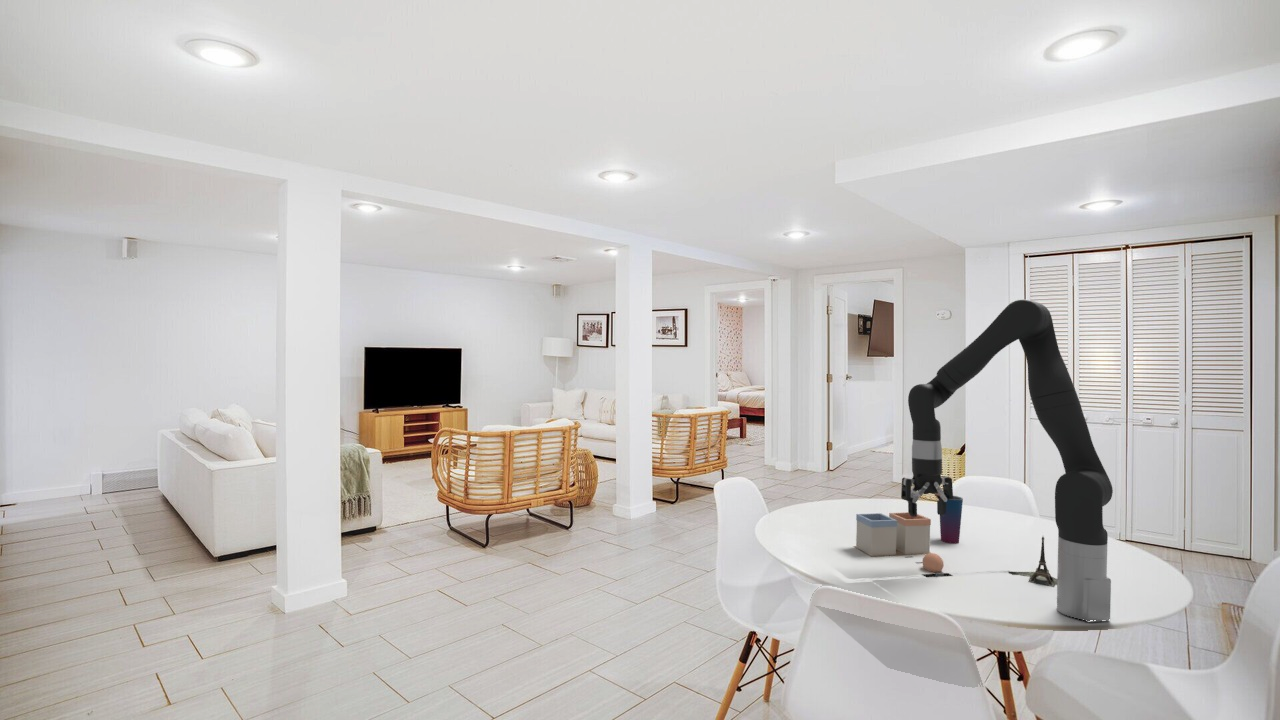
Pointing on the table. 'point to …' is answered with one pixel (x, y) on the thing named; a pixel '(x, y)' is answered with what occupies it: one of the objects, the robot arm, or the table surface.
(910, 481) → the robot arm
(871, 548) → the tube slate
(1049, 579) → the eiffel tower figurine
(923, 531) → the tube terracotta
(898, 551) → the tube board
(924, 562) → the ball terracotta
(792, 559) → the table surface
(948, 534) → the cup
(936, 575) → the mat
